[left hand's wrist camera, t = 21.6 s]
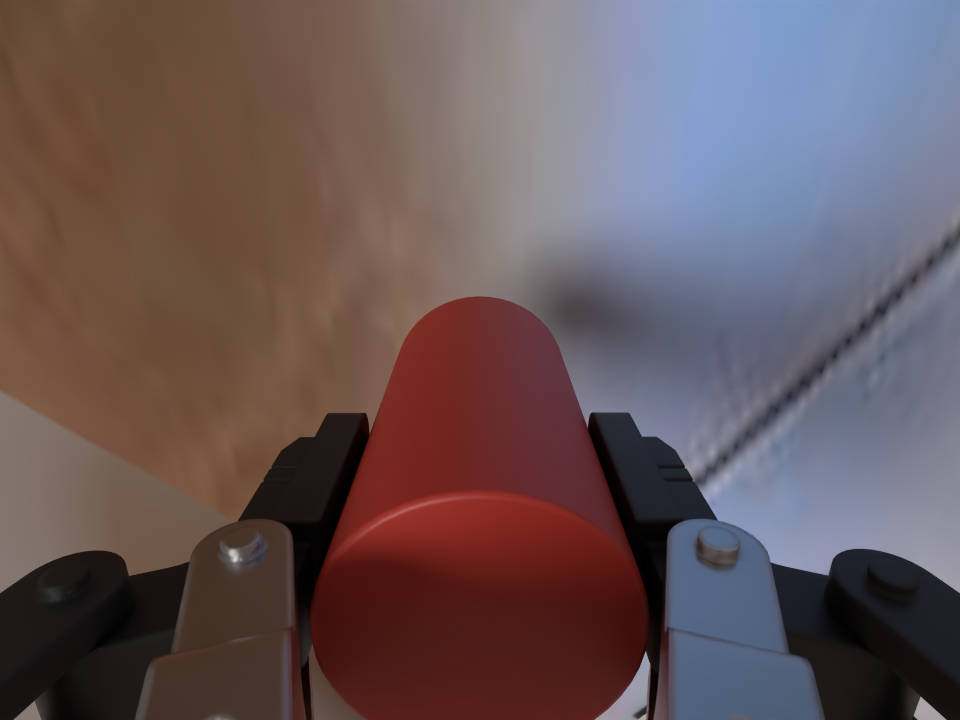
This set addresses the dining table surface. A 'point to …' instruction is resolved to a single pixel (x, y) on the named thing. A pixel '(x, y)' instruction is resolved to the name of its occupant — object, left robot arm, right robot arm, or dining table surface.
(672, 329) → the dining table surface
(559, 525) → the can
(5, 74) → the dining table surface
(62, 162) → the dining table surface
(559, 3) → the dining table surface
